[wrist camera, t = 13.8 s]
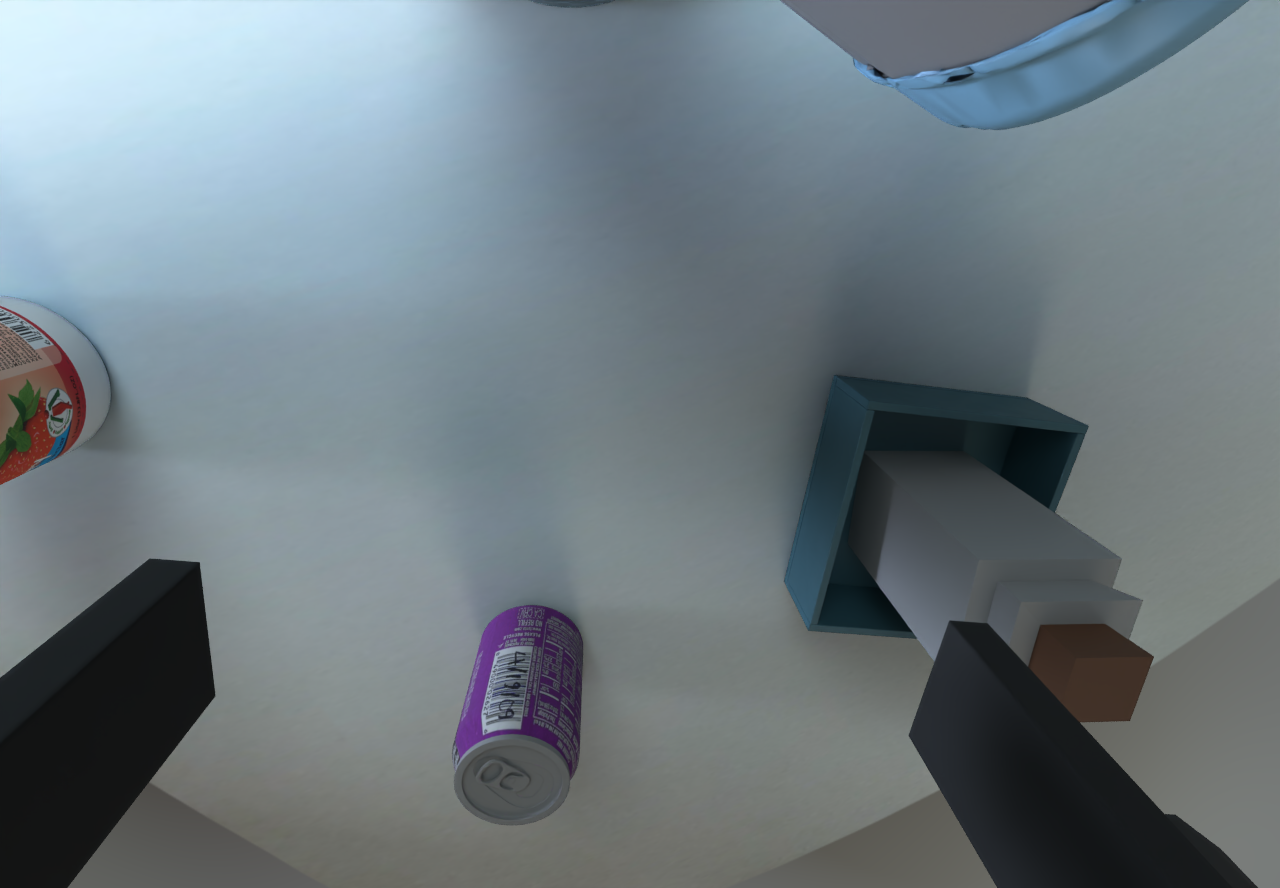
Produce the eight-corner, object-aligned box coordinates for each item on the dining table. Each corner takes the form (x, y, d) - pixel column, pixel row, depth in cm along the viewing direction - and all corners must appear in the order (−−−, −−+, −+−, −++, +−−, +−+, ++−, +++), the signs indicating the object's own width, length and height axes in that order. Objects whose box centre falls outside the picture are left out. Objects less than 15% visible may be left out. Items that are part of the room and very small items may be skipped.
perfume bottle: (963, 451, 42) (1210, 618, 25) (943, 542, 44) (1156, 752, 27) (862, 450, 41) (1044, 621, 25) (847, 543, 44) (1004, 756, 27)
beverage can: (463, 653, 46) (419, 800, 34) (516, 581, 44) (488, 711, 33) (548, 696, 47) (533, 849, 36) (602, 628, 46) (604, 767, 34)
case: (833, 374, 40) (869, 400, 35) (1027, 397, 41) (1089, 425, 36) (783, 581, 45) (808, 631, 40) (957, 595, 47) (1003, 645, 41)
